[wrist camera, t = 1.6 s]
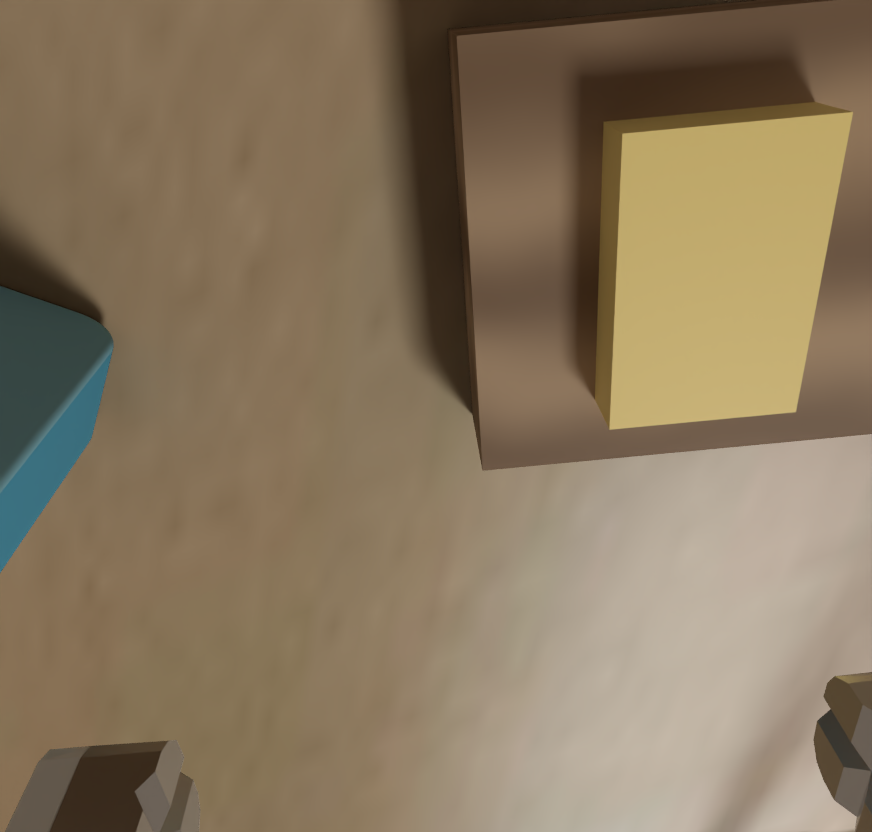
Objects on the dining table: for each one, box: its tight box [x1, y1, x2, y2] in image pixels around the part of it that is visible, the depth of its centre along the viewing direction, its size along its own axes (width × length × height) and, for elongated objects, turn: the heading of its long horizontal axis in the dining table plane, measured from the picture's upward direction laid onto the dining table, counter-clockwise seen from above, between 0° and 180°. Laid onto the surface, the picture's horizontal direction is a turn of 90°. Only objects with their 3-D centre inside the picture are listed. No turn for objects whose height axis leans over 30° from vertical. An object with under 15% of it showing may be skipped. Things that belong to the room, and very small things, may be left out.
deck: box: [448, 0, 872, 470], centre depth 25 cm, size 14×22×4 cm, turn 95°
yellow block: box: [595, 102, 853, 430], centre depth 22 cm, size 9×6×2 cm, turn 5°
